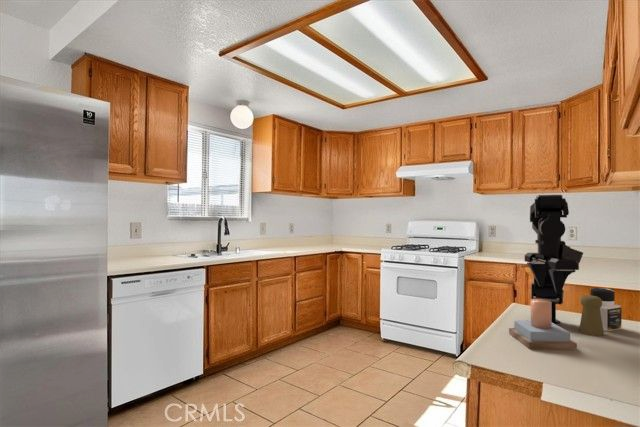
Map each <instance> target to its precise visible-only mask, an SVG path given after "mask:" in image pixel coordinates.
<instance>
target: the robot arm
mask: <svg viewBox="0 0 640 427" xmlns="http://www.w3.org/2000/svg"><path fill="white" fill-rule="evenodd" d="M569 214H570V211H569V205H568V201H567V200H566V198H564V197H563V195H562V194H537V196H536V197H535V198H534V202H533V203H532V204H531V205H530V207H529V222H530V223H531V229H533V231H534V232H535V233H536V237H537V238H536V239H535V242H534V243H535V244H537V252H526V253H525V254H524V262H526V265H528V267H529V270H530V271H531V273H532V275H533V280H532V283H530V300H531V299H544V300H549V301H551V308H552V323H554V324H561V323H562V321H560V320H559V319H557V315H556V314H557V308H556V307H557V306H556V305H563V304H564V292H565V290H564V289H563V288H564V287H565V283H566V281H567V279H568V277H569V275H571V274H574V273H575V272H576V271H579V270H580V263H581V260H582V257H583V255H584V252H582V251H581V250H577V249H574V248H571V246H569V245H566V242H565V241H564V240H562V237H563V236H564V234H565V233H566V225H565V223H564V222H563V221H562V220H561V219H562V218H568V216H569Z"/></svg>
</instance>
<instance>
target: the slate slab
mask: <svg viewBox="0 0 640 427" xmlns="http://www.w3.org/2000/svg"><path fill="white" fill-rule="evenodd" d="M513 323H514V324H513V326H514V329H515V330H516V331H517V332H519V333H520V334H522V335H523V336H524V337H526V338H527V339H529V340H530V341H550V342H570V340H571V331H568V330H566V329H565V328H563V327H561V326H559V325H558V324H557V323H552V328H550V329H541V328H536V327H533V326H531V320H514V322H513Z"/></svg>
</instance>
